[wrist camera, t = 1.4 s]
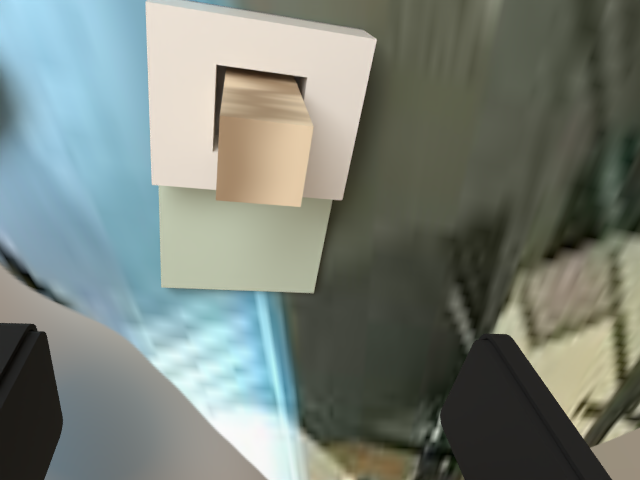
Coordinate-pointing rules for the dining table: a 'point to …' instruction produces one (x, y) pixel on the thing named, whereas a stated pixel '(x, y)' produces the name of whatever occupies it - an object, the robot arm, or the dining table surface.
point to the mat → (239, 242)
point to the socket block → (256, 54)
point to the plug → (262, 139)
